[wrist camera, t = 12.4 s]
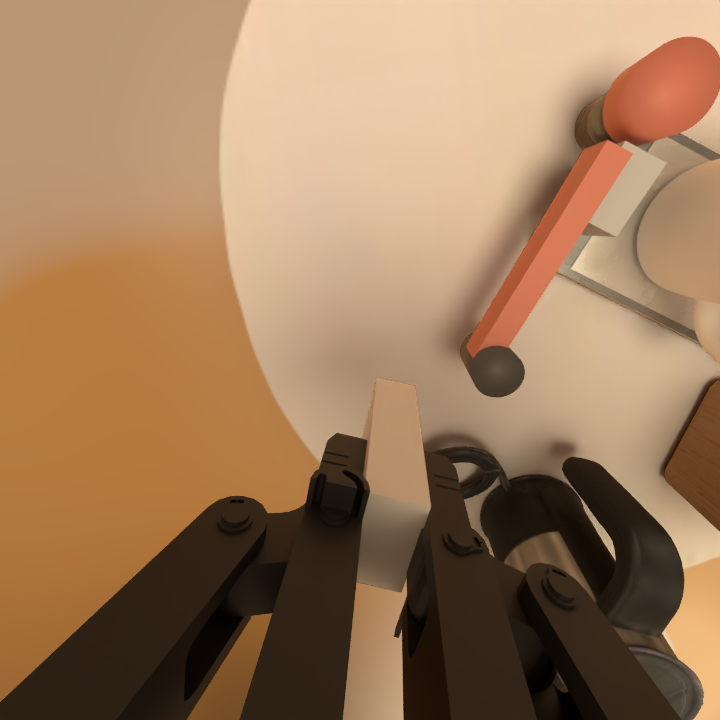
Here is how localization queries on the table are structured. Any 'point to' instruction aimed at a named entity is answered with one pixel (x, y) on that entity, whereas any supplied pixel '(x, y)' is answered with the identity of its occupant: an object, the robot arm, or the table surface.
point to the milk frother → (593, 555)
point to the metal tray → (633, 235)
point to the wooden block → (700, 459)
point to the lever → (596, 193)
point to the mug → (687, 246)
